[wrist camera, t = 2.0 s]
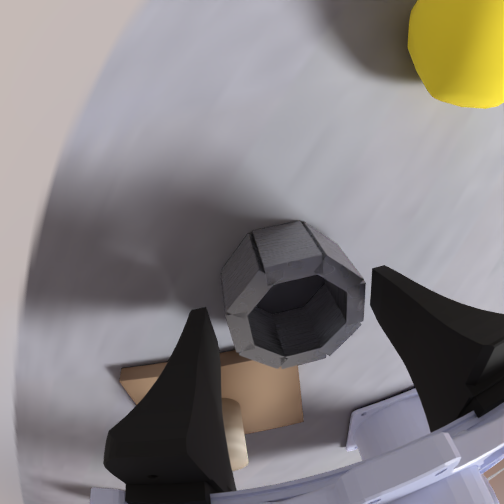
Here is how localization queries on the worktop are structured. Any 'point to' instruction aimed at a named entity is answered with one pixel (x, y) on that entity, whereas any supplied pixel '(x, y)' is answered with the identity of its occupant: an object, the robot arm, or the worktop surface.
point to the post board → (238, 397)
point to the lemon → (459, 50)
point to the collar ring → (297, 320)
